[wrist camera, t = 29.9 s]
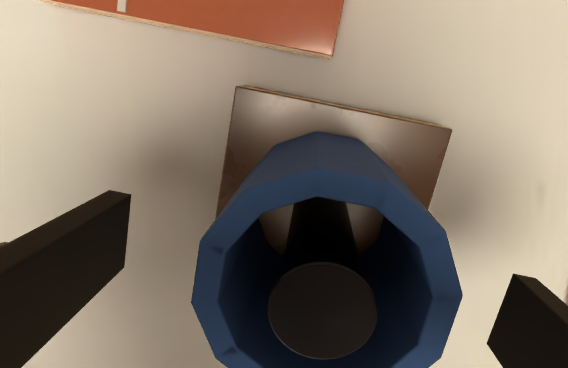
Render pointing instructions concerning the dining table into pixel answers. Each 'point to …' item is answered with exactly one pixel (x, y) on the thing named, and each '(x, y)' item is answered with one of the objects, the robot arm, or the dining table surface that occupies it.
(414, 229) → the sleeve
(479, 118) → the dining table surface
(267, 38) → the dial panel
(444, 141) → the brown base with rod
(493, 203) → the dining table surface
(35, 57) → the dining table surface
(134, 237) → the dining table surface
